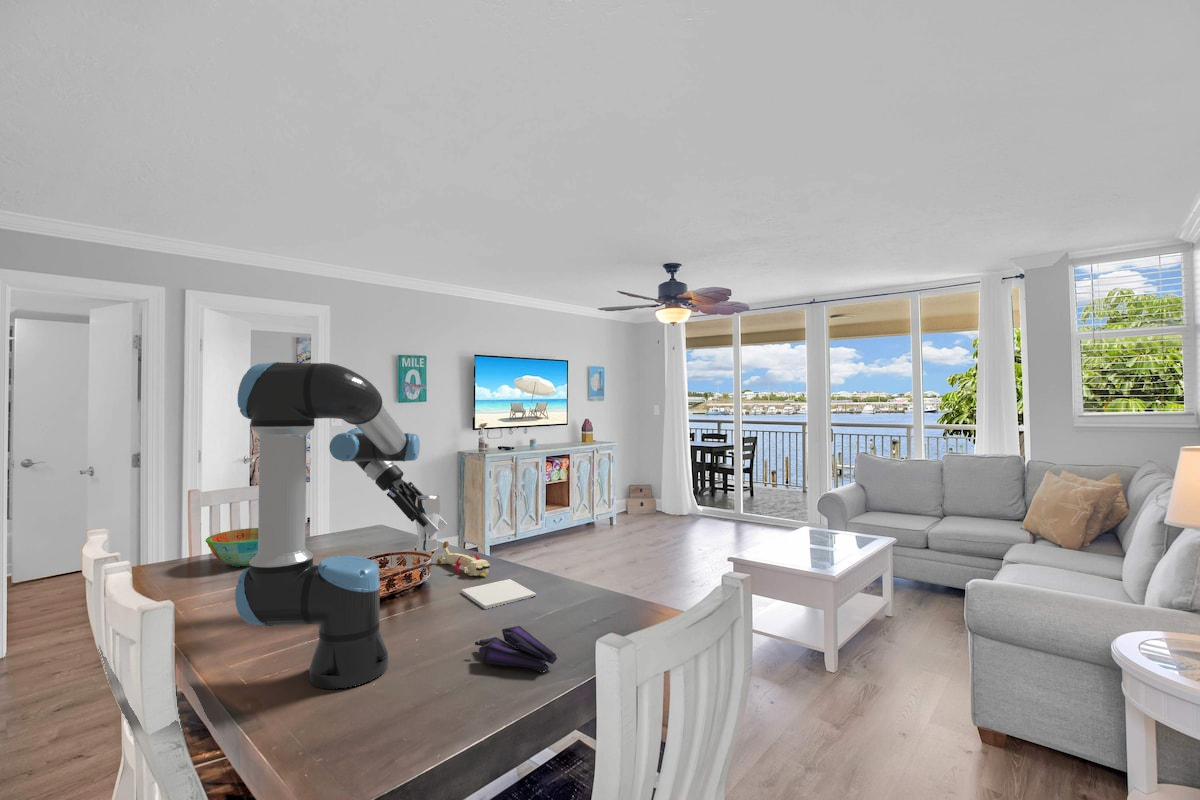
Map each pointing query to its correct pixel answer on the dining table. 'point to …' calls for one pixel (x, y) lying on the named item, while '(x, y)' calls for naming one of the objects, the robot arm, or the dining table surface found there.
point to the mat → (497, 593)
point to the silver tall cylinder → (432, 510)
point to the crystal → (516, 650)
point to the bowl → (235, 546)
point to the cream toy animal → (464, 562)
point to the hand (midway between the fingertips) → (439, 529)
